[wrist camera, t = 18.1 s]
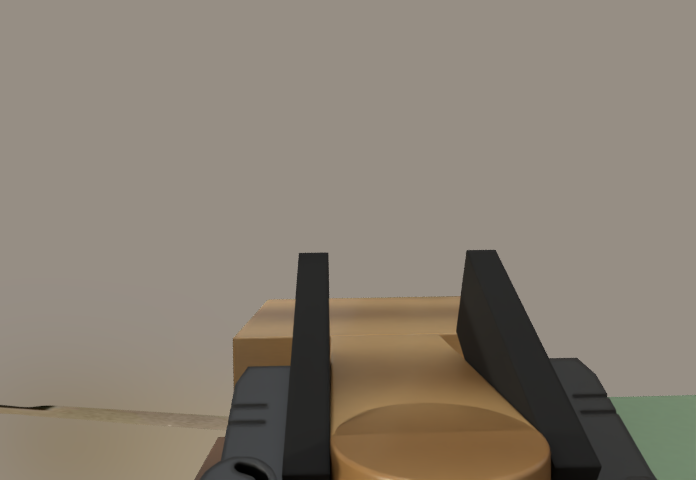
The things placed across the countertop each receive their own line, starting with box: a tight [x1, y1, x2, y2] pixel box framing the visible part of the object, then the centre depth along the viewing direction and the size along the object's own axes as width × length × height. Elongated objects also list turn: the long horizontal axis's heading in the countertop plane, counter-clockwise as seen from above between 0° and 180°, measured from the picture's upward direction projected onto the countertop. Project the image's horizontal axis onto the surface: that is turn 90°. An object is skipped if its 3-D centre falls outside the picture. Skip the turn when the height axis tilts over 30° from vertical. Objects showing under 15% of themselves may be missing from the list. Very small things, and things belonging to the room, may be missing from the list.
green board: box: [607, 395, 696, 480], centre depth 24 cm, size 11×12×2 cm
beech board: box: [233, 296, 551, 480], centre depth 18 cm, size 21×10×2 cm, turn 2°
